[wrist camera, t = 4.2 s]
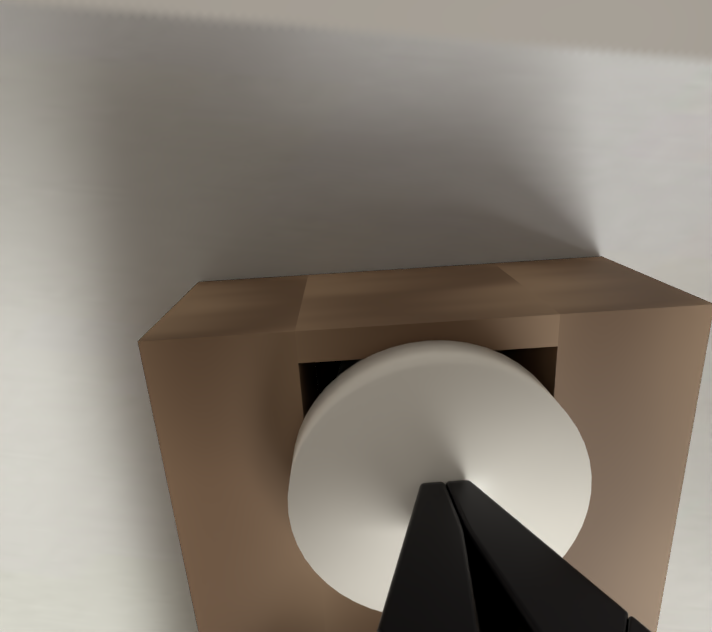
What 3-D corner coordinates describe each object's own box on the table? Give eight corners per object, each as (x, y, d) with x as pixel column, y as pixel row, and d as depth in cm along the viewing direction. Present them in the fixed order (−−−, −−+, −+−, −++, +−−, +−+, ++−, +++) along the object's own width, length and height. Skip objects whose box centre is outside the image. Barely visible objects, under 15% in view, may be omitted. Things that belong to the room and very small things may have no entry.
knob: (512, 280, 12) (606, 352, 8) (504, 465, 14) (578, 608, 10) (295, 293, 12) (271, 375, 8) (313, 478, 14) (302, 628, 9)
